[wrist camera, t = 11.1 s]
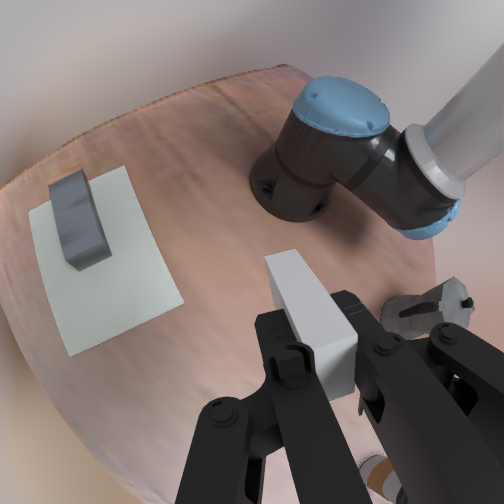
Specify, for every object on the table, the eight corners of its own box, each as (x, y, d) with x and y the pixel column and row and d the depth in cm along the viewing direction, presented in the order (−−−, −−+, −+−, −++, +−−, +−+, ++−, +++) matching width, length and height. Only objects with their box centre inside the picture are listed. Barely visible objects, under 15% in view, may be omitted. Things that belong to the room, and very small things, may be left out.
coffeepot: (417, 296, 50) (485, 273, 33) (419, 341, 47) (491, 329, 30) (360, 294, 47) (435, 266, 30) (362, 347, 44) (441, 340, 27)
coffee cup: (394, 459, 37) (447, 476, 24) (368, 491, 34) (417, 516, 20) (373, 443, 38) (430, 462, 24) (345, 478, 35) (396, 508, 21)
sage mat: (29, 213, 37) (28, 211, 36) (124, 166, 44) (124, 165, 43) (70, 357, 32) (69, 357, 32) (184, 303, 39) (184, 302, 39)
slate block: (79, 272, 36) (59, 199, 39) (112, 255, 38) (89, 184, 41) (64, 260, 31) (47, 180, 33) (102, 241, 33) (80, 164, 35)
